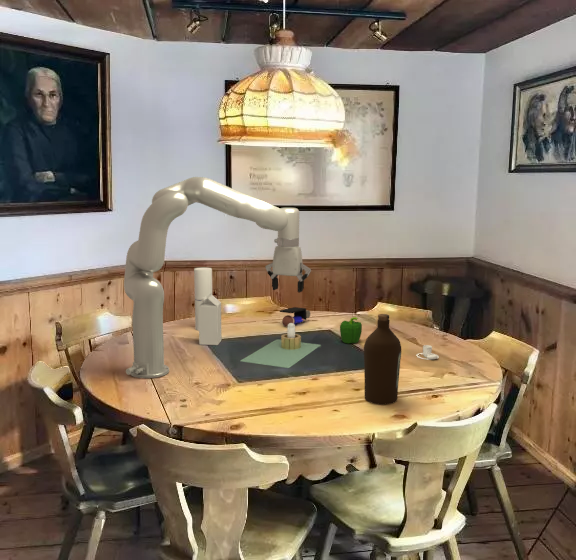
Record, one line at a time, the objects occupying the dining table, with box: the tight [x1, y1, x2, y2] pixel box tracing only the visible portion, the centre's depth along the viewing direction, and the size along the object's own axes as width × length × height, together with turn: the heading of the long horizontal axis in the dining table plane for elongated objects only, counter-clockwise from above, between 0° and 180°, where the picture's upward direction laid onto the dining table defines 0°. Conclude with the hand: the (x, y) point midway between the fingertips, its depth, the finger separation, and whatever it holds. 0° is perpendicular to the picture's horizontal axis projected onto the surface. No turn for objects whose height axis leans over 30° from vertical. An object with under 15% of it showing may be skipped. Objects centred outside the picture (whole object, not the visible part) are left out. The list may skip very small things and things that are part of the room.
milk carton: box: [198, 291, 222, 346], centre depth 241 cm, size 7×7×19 cm
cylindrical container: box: [193, 267, 213, 332], centre depth 261 cm, size 7×7×25 cm
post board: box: [240, 323, 322, 369], centre depth 225 cm, size 30×18×10 cm, turn 157°
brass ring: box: [280, 333, 302, 350], centre depth 232 cm, size 7×7×4 cm
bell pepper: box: [339, 316, 363, 344], centre depth 244 cm, size 8×8×10 cm
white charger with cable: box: [415, 344, 440, 360], centre depth 227 cm, size 9×8×4 cm
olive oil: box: [363, 313, 402, 405], centre depth 183 cm, size 11×11×25 cm
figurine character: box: [279, 306, 311, 328], centre depth 271 cm, size 7×8×15 cm
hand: (287, 290), depth 228 cm, fingers open, 9 cm apart
